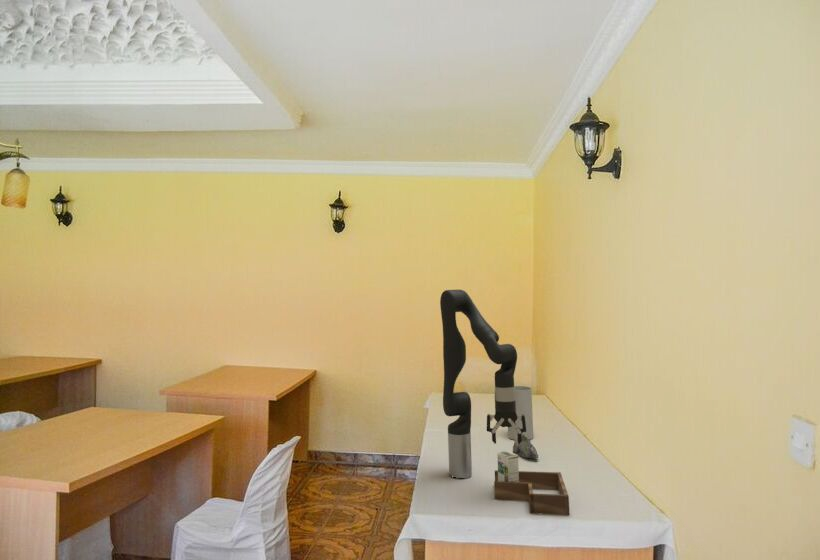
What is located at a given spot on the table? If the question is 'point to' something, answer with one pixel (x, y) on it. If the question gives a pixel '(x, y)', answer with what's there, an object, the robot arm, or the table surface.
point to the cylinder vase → (523, 411)
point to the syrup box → (508, 466)
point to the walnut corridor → (536, 501)
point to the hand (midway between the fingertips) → (506, 443)
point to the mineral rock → (524, 448)
